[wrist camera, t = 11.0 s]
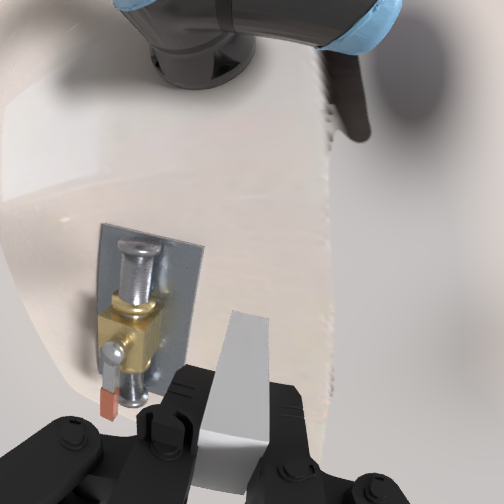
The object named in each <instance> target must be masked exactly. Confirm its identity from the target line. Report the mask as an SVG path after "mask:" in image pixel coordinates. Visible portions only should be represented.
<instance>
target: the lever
mask: <svg viewBox="0 0 504 504" xmlns="http://www.w3.org/2000/svg"><path fill="white" fill-rule="evenodd" d="M126 355H127V349H126V347H125V345H124V344H123V343H122V342H121V341H120V340H118V339H115V338H111V339H109V340H108V341H107V342H106V343H105V344H104V345H103V346H102V347H101V348H100V356H101V358H102V360H103V361H104V366H103V386H102V388H101V394H100V415H101V416H102V417H104V418H106V419H108V420H110V421H114V419H115V417H116V416H117V414H118V400H119V388H120V387H118V380H119V369H120V363H121V362H122V361H123V359H124V358H125V357H126Z"/></svg>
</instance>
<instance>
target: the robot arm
mask: <svg viewBox="0 0 504 504" xmlns="http://www.w3.org/2000/svg"><path fill="white" fill-rule="evenodd" d="M402 3H403V1H402V0H113V4H114V5H115V7H116V8H117V9H118V10H120V11H121V12H122V13H123V15H124V16H125V17H126V18H127V19H128V20H129V21H130V22H131V23H132V24H133V25H134V26H135V27H136V28H137V29H138V30H139V31H140V33H141V34H142V35H143V36H144V37H145V38H146V39H147V40H148V41H149V44H150V53H151V59H152V62H153V65H154V66H155V68H156V70H157V71H158V72H159V73H160V74H161V75H162V76H163V78H165V79H166V80H167V81H168V82H170V83H171V84H173V85H175V86H178V87H181V88H185V89H192V90H200V89H208V88H213V87H216V86H219V85H222V84H224V83H226V82H228V81H230V80H232V79H233V78H235V77H236V76H237V75H239V74H240V73H241V72H242V71H243V70H244V69H245V68H246V67H247V65H248V64H249V63H250V61H251V59H252V57H253V55H254V52H255V46H256V40H255V36H260V37H267V38H273V39H279V40H285V41H290V42H295V43H300V44H304V45H309V46H313V47H314V48H315V49H318V50H326V49H327V50H332V51H336V52H340V53H344V54H348V55H359V54H363V53H365V52H368V51H370V50H371V49H373V48H374V47H375V46H376V45H377V44H378V43H379V42H380V41H381V40H382V39H383V38H384V37H385V35H386V34H387V33H388V31H389V30H390V28H391V27H392V25H393V23H394V22H395V20H396V18H397V16H398V14H399V11H400V9H401V6H402ZM136 418H137V435H135V436H130V437H119V436H111V435H103V434H99V431H98V429H97V428H96V427H95V426H94V425H93V424H92V423H91V422H89V421H87V420H85V419H83V418H80V417H74V416H65V417H60V418H58V419H56V420H54V421H52V422H51V423H49V424H48V425H47V426H45V427H44V428H42V429H41V430H39V431H38V432H37V433H35V434H34V435H32V436H31V437H30V438H28V439H27V440H25V441H24V442H23V443H21V444H20V445H18V446H17V447H15V448H14V449H12V450H11V451H9V452H8V453H7V454H5V455H4V456H2V457H1V458H0V504H187V499H188V493H189V490H190V486H191V485H193V486H197V487H202V488H206V489H211V490H216V491H221V492H227V493H233V494H240V495H244V493H245V491H246V490H247V494H246V502H245V504H410V503H409V501H408V500H407V498H406V497H405V496H404V494H403V492H402V491H401V489H400V488H399V486H398V485H397V484H396V483H395V482H394V481H393V480H392V479H391V478H389V477H387V476H385V475H383V474H378V473H368V474H364V475H362V476H360V477H358V478H357V480H356V481H355V482H354V481H350V480H346V479H342V478H338V477H334V476H331V475H329V474H326V473H325V472H323V471H321V470H320V468H319V465H318V464H317V463H316V462H315V461H314V460H313V459H312V458H311V457H310V453H309V446H308V439H307V432H306V425H305V419H304V411H303V404H302V397H301V395H300V394H299V392H298V391H297V390H296V388H295V387H294V386H292V385H285V384H279V383H273V382H269V318H264V317H259V316H255V315H250V314H246V313H241V312H237V311H233V310H232V314H231V317H230V321H229V325H228V328H227V332H226V335H225V339H224V343H223V346H222V350H221V354H220V357H219V361H218V365H217V368H216V372H215V371H211V370H207V369H203V368H199V367H195V366H191V365H188V364H186V365H184V366H183V367H182V368H180V369H179V370H177V371H176V372H175V374H174V377H173V379H172V381H171V384H170V385H169V387H168V389H167V392H166V393H165V396H164V398H163V400H162V402H161V404H156V405H151V406H148V407H146V408H144V409H142V410H141V411H140V412H139V413H138V414H137V416H136Z"/></svg>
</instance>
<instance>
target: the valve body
mask: <svg viewBox="0 0 504 504" xmlns="http://www.w3.org/2000/svg"><path fill="white" fill-rule="evenodd" d="M204 247H205V246H201V245H197V244H192V243H188V242H184V241H179V240H175V239H171V238H167V237H162V236H158V235H154V234H150V233H145V232H141V231H137V230H132V229H128V228H124V227H120V226H116V225H111V224H107V223H105V224H103V227H102V236H101V247H100V259H99V275H98V302H97V331H98V358H99V373H100V374H102V375H103V366H104V361H103V360H102V358H101V356H100V348H101V347H102V346H103V345H104V344H105V343H106V342H107V341H108V340H109V339H111V338H115V339H118V340H120V341H121V342H122V343H123V344H124V345H125V347H126V349H127V355H126V357H125V358H124V359H123V361H122V362H121V363H120V369H119V380H118V387H120V388H119V400H118V403H119V404H120V405H122V406H124V407H127V408H139V407H142V406H144V405H145V404H146V403H147V401H148V391H149V392H152V393H155V394H158V395H161V396H165V393H166V392H167V389H168V387H169V385H170V384H171V381H172V379H173V377H174V374H175V372H176V371H177V370H179V369H180V368H182V367H183V366H184V365H185V362H186V355H187V348H188V341H189V334H190V328H191V322H192V315H193V309H194V303H195V297H196V291H197V286H198V280H199V274H200V269H201V263H202V258H203V253H204Z"/></svg>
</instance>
